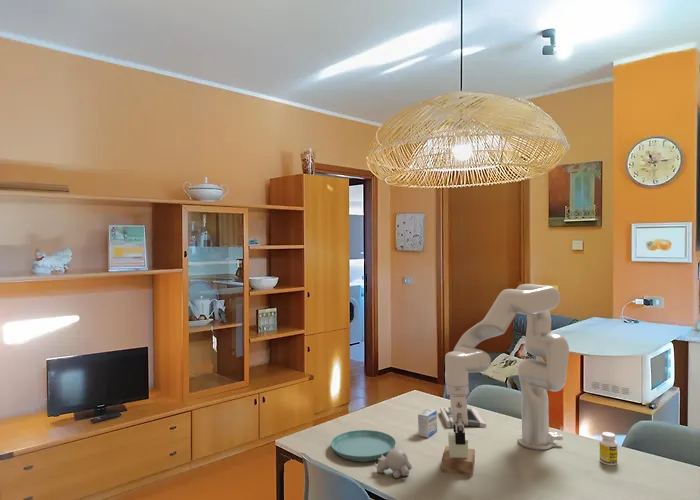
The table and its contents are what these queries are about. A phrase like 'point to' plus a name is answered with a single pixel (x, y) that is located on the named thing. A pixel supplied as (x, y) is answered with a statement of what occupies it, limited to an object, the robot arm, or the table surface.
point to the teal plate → (363, 445)
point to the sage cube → (457, 447)
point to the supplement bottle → (608, 449)
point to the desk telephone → (472, 414)
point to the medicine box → (427, 423)
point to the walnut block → (458, 463)
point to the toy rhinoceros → (394, 463)
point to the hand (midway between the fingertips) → (459, 438)
